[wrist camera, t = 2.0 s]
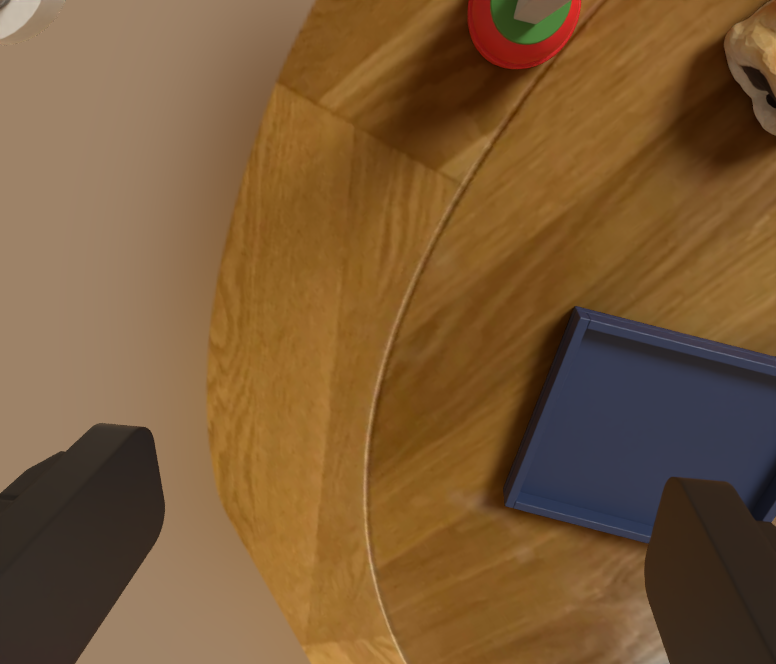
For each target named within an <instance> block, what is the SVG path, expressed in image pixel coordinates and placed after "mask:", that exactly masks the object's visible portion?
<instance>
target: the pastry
mask: <svg viewBox="0 0 776 664" xmlns="http://www.w3.org/2000/svg"><path fill="white" fill-rule="evenodd" d="M724 48H725V53H726V57H727V62H728V66H729V68H730V71H731V73H732V75H733V77H734V79H735V80H736V81H737V82H738V83H739V84H740V85H741V87H742V89H743V90H744V91H745V92H746V93H747V94H748V95H749V96H750V97H751V98H752V102H753V110H754V114H755V116H756V118H757V119H758V121H759V122H760V124H761V126H762V127H763V129H765V130H766V131H768V132H769V133H771V134H773V135H775V136H776V0H771V1H769V2H767V3H766V4H765V5H763V6H762V7H761V8H759V9H758V10H757V11H756V12H755V13H754V14H753V15H752V16H750V17H749V18H748V19H746V20H744V21H742V22H739V23H737V24H735V25H734V26H732V28H731V29H730V31H729V32H728V33H727V35H726V37H725V41H724Z"/></svg>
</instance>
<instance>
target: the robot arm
mask: <svg viewBox="0 0 776 664" xmlns="http://www.w3.org/2000/svg"><path fill="white" fill-rule="evenodd" d="M9 1H10V0H0V9H1V8H2V7H4V6H5V5H6V4H7V3H8V2H9ZM164 514H165V502H164V496H163V490H162V484H161V478H160V472H159V466H158V461H157V455H156V449H155V443H154V438H153V435H152V433H151V431H150V430H149V429H148V428H146V427H137V426H127V425H116V424H105V423H99V424H96V425H94V426H93V427H92V428H90V429H89V430H88V431H87V432H86V433H85V434H84V435H83V436H82V437H81V438H80V439H79V440H78V441H76V442H75V443H74V444H73V445H72V446H71V447H70V448H69V449H68V450H67V451H66V452H63V451H61V452H59V453H57V454H55V455H53V456H52V457H49V458H48V459H46V460H44V461H42V462H40V463H39V464H37V465H35V466H33V467H31V468H29V469H28V470H26V471H25V472H24V473H23V474H22V475H20V476H19V477H18V478H17V479H16V480H15V481H14V482H13V483H11V484H10V485H9V486H8V487H7V488H6V489H5V490H4V491H3V492H1V493H0V664H75V663H76V661H77V660H78V658H79V657H80V655H81V653H82V652H83V651H84V649H85V648H86V646H87V645H88V643H89V642H90V640H91V639H92V637H93V636H94V634H95V633H96V631H97V630H98V628H99V627H100V625H101V623H102V622H103V621H104V619H105V617H106V616H107V615H108V613H109V612H110V610H111V609H112V607H113V606H114V604H115V603H116V601H117V600H118V598H119V596H120V595H121V594H122V592H123V591H124V589H125V587H126V586H127V585H128V583H129V582H130V580H131V579H132V577H133V575H134V574H135V573H136V571H137V569H138V568H139V567H140V565H141V563H142V562H143V561H144V559H145V558H146V556H147V554H148V553H149V552H150V550H151V549H152V547H153V546H154V544H155V542H156V541H157V538H158V537H159V534H160V532H161V529H162V525H163V521H164ZM644 575H645V587H646V593H647V597H648V601H649V604H650V607H651V610H652V613H653V615H654V618H655V621H656V624H657V627H658V630H659V633H660V636H661V639H662V642H663V645H664V648H665V650H666V653H667V656H668V659H669V662H670V664H776V526H774V525H773V524H772V523H771V522H766V521H756V520H755V519H754V518H753V516H752V515H751V513H750V511H749V510H748V508H747V507H746V505H745V504H744V502H743V501H742V499H741V497H740V496H739V494H738V493H737V491H736V490H735V488H734V487H733V486H732V485H731V484H730V483H728V482H725V481H715V480H704V479H693V478H682V477H670V478H669V479H668V480H667V482H666V484H665V486H664V489H663V492H662V496H661V500H660V504H659V507H658V511H657V515H656V519H655V522H654V526H653V530H652V534H651V538H650V541H649V545H648V549H647V553H646V558H645V569H644Z"/></svg>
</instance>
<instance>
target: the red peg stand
mask: <svg viewBox="0 0 776 664" xmlns="http://www.w3.org/2000/svg"><path fill="white" fill-rule="evenodd" d="M580 8H581V0H469V2H468V16H467V17H468V28H469V33H470V36H471V39H472V41H473V44H474V45H475V47H476V49H477V50H478V51H479V53H480V54H481V55H482V56H483V57H484V58H485V59H486V60H488V61H489V62H491V63H492V64H494V65H496V66H499V67H502V68H506V69H524V68H530V67H534V66H537V65H539V64H542V63H544V62H546V61H547V60H549V59H550V58H552V57H553V56H555V55H556V54H557V53H558V52H559V51H560V50H561V49H562V48H563V47H564V45H565V44H566V43H567V42H568V40H569V39H570V37H571V35H572V33H573V31H574V29H575V27H576V24H577V22H578V18H579V14H580Z"/></svg>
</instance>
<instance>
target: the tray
mask: <svg viewBox="0 0 776 664" xmlns="http://www.w3.org/2000/svg"><path fill="white" fill-rule="evenodd" d="M670 477H682V478H693V479H704V480H715V481H725V482H728V483H730V484H731V485H732V486H733V487H734V488H735V490H736V491H737V493H738V494H739V496H740V497H741V499H742V501H743V502H744V504H745V505H746V507H747V508H748V510H749V511H750V513H751V515H752V516H753V518H754V519H755V520H756V521H766V522H772V521H773V519H774V518H775V516H776V357H774V356H770V355H766V354H762V353H758V352H754V351H750V350H747V349H743V348H739V347H735V346H731V345H727V344H723V343H719V342H715V341H711V340H707V339H703V338H699V337H695V336H691V335H687V334H683V333H680V332H676V331H672V330H668V329H664V328H660V327H656V326H652V325H648V324H644V323H640V322H636V321H632V320H628V319H624V318H620V317H616V316H613V315H609V314H605V313H601V312H597V311H593V310H589V309H585V308H581V307H577V306H575V307H574V309H573V312H572V315H571V317H570V320H569V322H568V325H567V327H566V330H565V332H564V335H563V338H562V340H561V343H560V345H559V348H558V350H557V353H556V355H555V358H554V360H553V363H552V366H551V368H550V371H549V373H548V376H547V378H546V381H545V383H544V386H543V389H542V391H541V394H540V396H539V399H538V401H537V404H536V406H535V409H534V411H533V414H532V417H531V419H530V422H529V424H528V427H527V429H526V432H525V434H524V437H523V440H522V442H521V445H520V447H519V450H518V452H517V455H516V457H515V460H514V462H513V465H512V468H511V470H510V473H509V475H508V478H507V480H506V483H505V485H504V488H503V492H504V503H505V506H507V507H511V508H514V509H518V510H522V511H525V512H529V513H533V514H537V515H541V516H545V517H548V518H552V519H556V520H560V521H564V522H568V523H571V524H575V525H579V526H583V527H587V528H591V529H594V530H598V531H602V532H606V533H610V534H614V535H617V536H621V537H625V538H629V539H633V540H637V541H640V542H644V543H648V544H649V541H650V538H651V534H652V530H653V526H654V522H655V519H656V515H657V511H658V507H659V504H660V500H661V496H662V492H663V489H664V486H665V484H666V482H667V480H668V479H669V478H670Z"/></svg>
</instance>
